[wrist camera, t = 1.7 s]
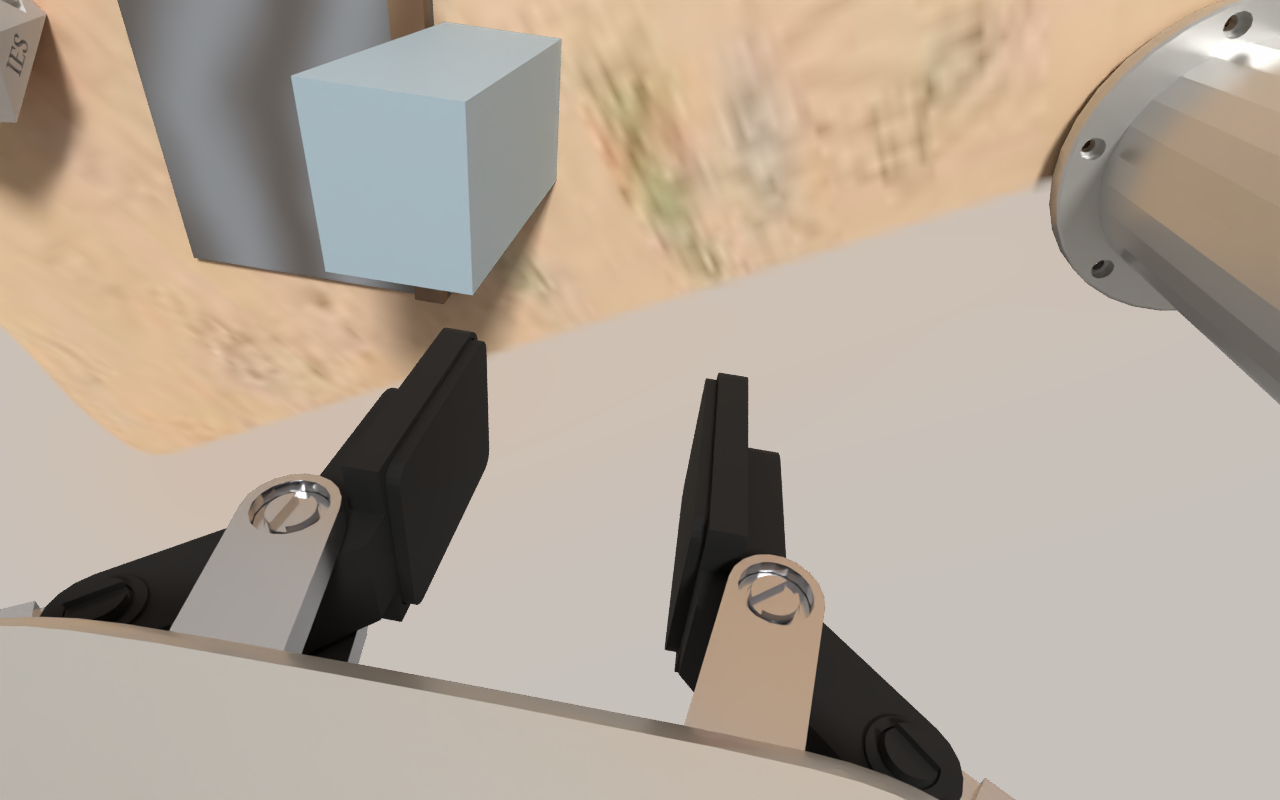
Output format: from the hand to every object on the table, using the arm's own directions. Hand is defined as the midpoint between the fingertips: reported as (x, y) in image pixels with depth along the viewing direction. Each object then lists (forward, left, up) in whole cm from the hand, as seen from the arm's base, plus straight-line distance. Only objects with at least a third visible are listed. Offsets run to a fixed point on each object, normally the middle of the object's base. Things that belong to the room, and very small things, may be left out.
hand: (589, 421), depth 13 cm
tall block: (+8, 0, -21) cm, 23 cm away
